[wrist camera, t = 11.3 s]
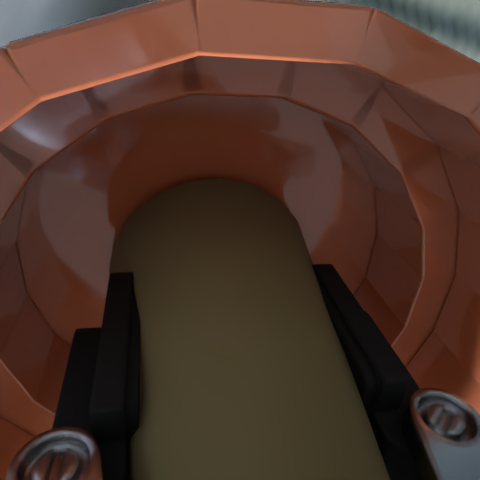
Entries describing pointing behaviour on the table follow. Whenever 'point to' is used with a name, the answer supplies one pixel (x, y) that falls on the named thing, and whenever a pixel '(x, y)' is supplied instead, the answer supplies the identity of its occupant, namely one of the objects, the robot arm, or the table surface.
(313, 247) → the basin
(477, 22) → the table surface
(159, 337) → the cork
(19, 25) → the table surface
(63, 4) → the table surface
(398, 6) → the table surface
